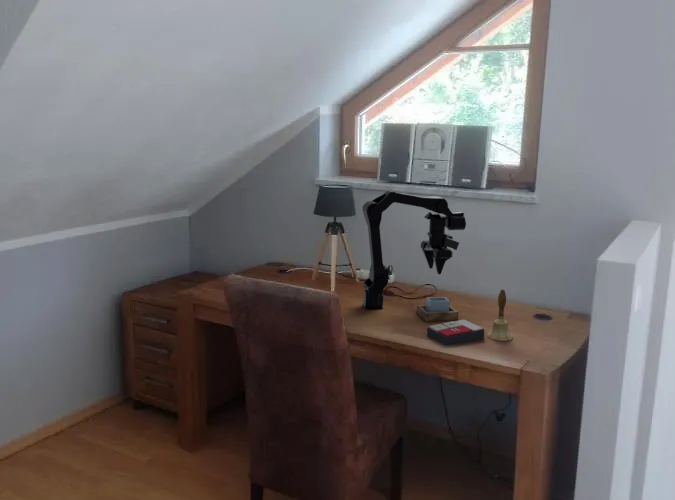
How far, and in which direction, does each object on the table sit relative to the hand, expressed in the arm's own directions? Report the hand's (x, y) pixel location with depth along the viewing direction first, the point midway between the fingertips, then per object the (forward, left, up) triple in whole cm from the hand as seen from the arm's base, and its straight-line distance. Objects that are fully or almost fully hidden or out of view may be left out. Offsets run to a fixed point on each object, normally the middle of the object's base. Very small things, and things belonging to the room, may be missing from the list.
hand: (435, 271), depth 251 cm
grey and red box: (-6, -37, -14) cm, 40 cm away
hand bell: (+9, -39, -13) cm, 42 cm away
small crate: (-4, -15, -12) cm, 20 cm away
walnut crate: (-4, -15, -13) cm, 20 cm away
